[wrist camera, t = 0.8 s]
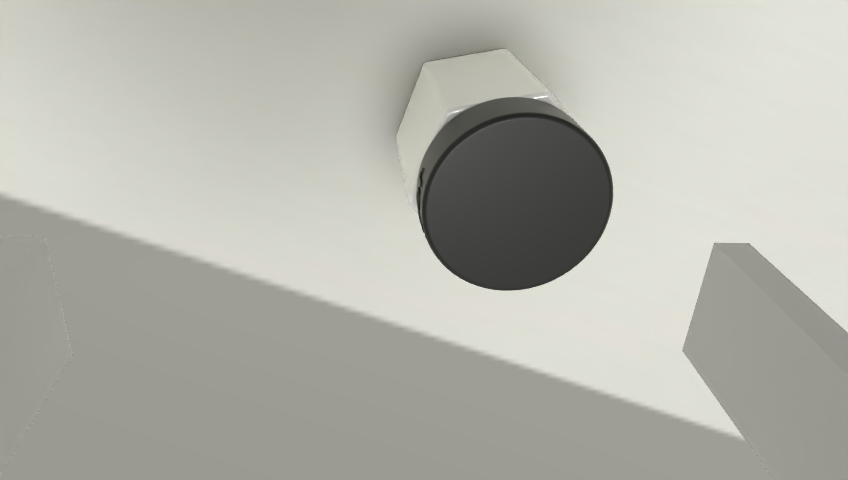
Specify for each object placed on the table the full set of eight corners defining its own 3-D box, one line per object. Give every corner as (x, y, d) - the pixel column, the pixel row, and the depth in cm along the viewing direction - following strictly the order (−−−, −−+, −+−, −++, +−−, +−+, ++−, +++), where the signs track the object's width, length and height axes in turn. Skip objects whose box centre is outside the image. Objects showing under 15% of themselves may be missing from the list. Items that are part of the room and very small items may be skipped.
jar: (366, 109, 37) (372, 193, 27) (483, 12, 36) (539, 61, 25) (462, 218, 41) (501, 331, 30) (572, 136, 39) (654, 224, 29)
